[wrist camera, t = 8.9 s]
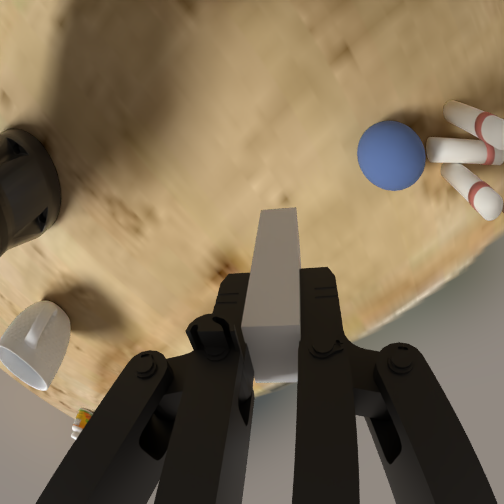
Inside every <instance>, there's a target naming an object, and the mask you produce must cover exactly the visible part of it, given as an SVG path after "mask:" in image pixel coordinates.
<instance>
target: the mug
mask: <svg viewBox="0 0 504 504" xmlns="http://www.w3.org/2000/svg"><path fill="white" fill-rule="evenodd" d="M70 330H71V327H70V320H69V318H68V316H67V314H66V313H65V312H64V311H63V310H62V309H61V308H60V307H59V306H58V305H56V304H55V303H53V302H51V301H40V302H37V303H34V304H33V305H30V306H29V307H27V308H26V309H25V310H24V311H22V312H21V313H20V314H19V315H18V316H17V317H16V318H15V319H14V321H12V323H11V324H10V326H8V328H7V330H6V331H5V332H4V334H3V335H2V337H1V339H0V360H1V361H2V363H3V364H4V365H5V366H6V367H7V368H8V369H9V370H10V371H11V372H12V373H13V374H14V375H15V376H17V377H18V378H19V379H21V380H22V381H23V382H25V383H26V384H28V385H30V386H32V387H34V388H36V389H38V390H42V391H45V390H47V389H48V388H49V386H50V384H51V382H52V380H53V379H54V377H55V375H56V373H57V371H58V369H59V367H60V365H61V362H62V360H63V358H64V356H65V353H66V350H67V347H68V344H69V339H70Z"/></svg>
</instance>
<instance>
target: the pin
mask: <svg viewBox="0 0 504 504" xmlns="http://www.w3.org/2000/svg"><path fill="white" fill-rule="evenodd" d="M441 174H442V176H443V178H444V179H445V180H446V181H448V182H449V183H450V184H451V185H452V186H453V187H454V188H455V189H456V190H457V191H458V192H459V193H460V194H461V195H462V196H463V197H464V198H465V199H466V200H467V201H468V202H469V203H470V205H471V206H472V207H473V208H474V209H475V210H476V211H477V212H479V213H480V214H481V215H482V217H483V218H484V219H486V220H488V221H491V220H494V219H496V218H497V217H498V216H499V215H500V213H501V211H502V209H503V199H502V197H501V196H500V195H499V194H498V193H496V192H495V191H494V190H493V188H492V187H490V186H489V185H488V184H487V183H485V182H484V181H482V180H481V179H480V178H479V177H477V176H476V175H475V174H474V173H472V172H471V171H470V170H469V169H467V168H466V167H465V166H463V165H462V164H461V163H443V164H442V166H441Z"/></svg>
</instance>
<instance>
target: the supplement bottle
mask: <svg viewBox="0 0 504 504" xmlns="http://www.w3.org/2000/svg"><path fill="white" fill-rule="evenodd" d="M92 415H93V413H92V412H91V411H89V410H87V409H84V408H80V410H79V412H78V414H77V416H76V419H75V421H74V424H73V426H72V429H73V431H74V432H73V433H72V434H71V437H72V438H74V439H75V440H76V439H77V437H78V436H79V434H80V433H81V431H82V430H83V428H84V427H85V425H86V424H87V422H88V421H89V419H90V418H91V416H92Z"/></svg>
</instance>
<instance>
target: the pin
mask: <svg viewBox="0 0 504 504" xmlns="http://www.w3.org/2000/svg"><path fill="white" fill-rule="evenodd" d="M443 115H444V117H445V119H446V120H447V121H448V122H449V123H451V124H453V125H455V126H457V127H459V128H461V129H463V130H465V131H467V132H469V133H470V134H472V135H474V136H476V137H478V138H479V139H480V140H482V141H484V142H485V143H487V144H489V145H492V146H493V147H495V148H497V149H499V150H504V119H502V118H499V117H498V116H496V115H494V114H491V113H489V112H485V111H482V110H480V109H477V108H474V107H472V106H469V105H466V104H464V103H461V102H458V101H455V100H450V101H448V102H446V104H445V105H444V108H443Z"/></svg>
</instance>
